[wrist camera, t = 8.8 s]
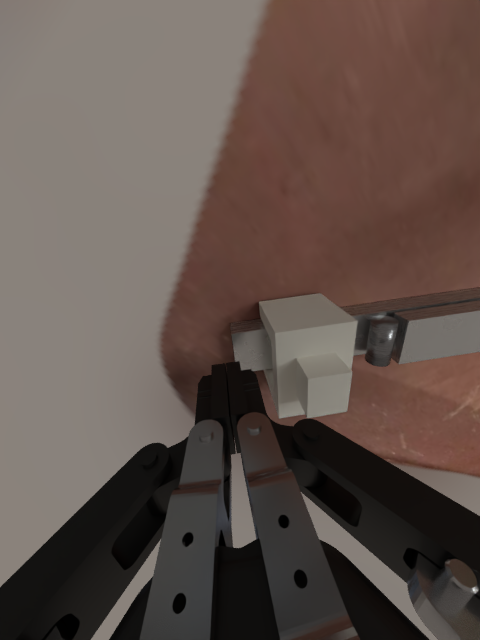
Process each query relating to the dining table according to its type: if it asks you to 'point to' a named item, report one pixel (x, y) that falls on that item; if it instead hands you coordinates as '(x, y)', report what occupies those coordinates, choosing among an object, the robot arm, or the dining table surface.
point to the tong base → (371, 331)
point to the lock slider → (309, 355)
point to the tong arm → (437, 332)
